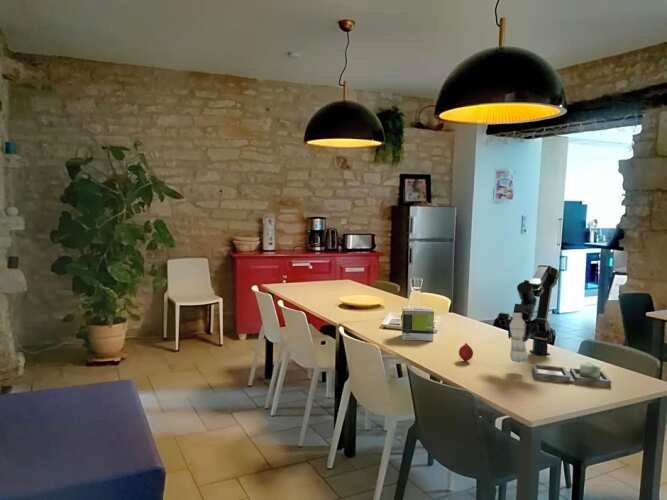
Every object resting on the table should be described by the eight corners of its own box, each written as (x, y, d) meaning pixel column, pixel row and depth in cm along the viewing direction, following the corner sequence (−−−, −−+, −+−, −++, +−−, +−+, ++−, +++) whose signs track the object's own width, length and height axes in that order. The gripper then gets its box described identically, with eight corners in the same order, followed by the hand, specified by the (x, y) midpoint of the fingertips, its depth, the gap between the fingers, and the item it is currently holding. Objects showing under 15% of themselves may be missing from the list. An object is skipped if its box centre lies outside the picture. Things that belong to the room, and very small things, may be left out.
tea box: (431, 336, 258) (432, 307, 257) (433, 341, 248) (434, 311, 247) (401, 334, 260) (402, 306, 258) (401, 340, 250) (403, 310, 248)
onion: (462, 358, 221) (463, 340, 221) (474, 361, 218) (475, 342, 217) (456, 361, 217) (457, 342, 216) (468, 364, 213) (469, 345, 213)
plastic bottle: (523, 359, 209) (521, 310, 207) (530, 363, 202) (528, 313, 201) (507, 360, 208) (506, 311, 207) (514, 364, 201) (512, 314, 200)
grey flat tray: (535, 379, 197) (536, 364, 196) (532, 370, 208) (533, 355, 208) (610, 387, 190) (611, 371, 189) (602, 377, 201) (604, 362, 201)
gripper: (500, 293, 212) (489, 324, 204) (547, 299, 201) (538, 332, 193) (505, 309, 219) (495, 339, 211) (551, 315, 208) (542, 348, 200)
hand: (517, 339), depth 204 cm, fingers closed on plastic bottle, 6 cm apart
